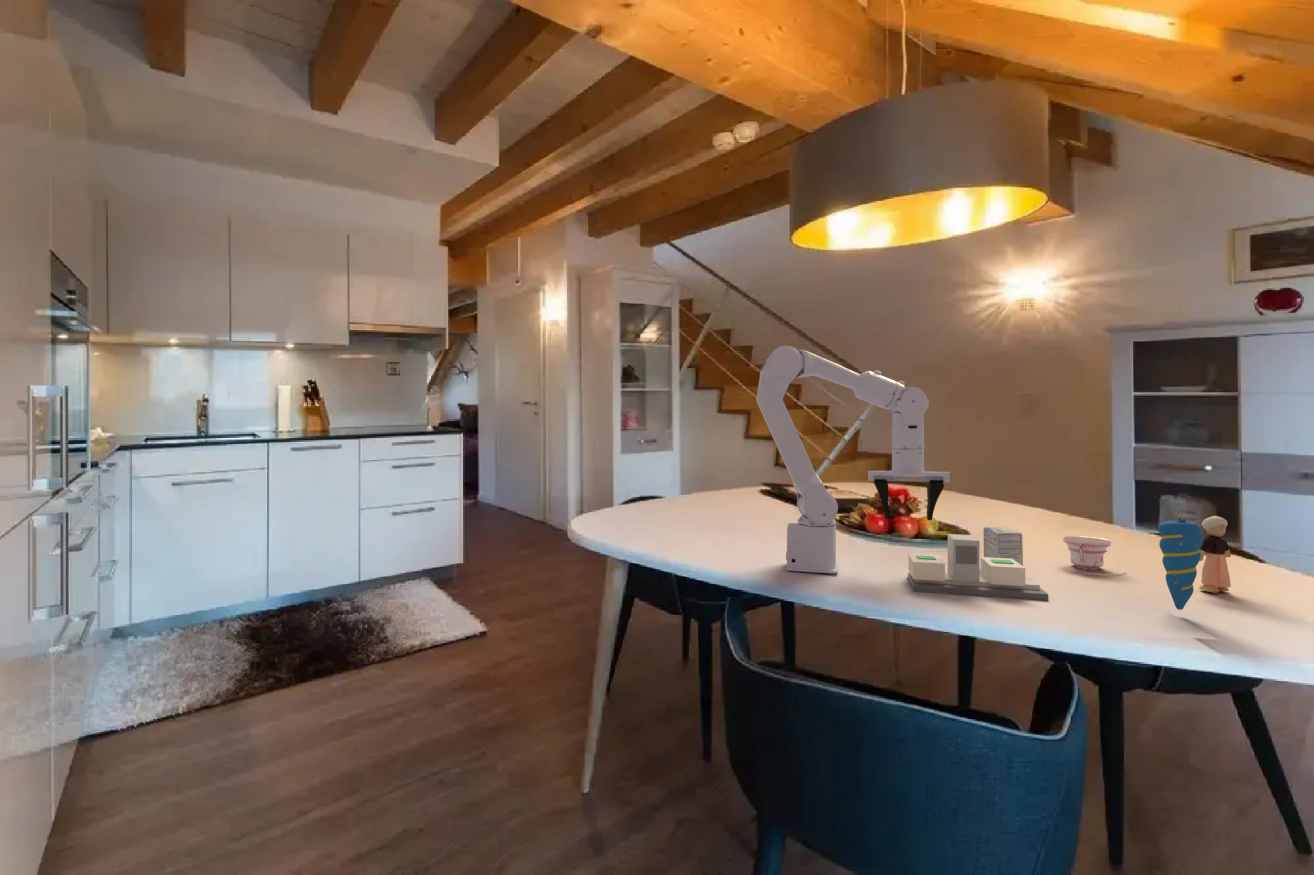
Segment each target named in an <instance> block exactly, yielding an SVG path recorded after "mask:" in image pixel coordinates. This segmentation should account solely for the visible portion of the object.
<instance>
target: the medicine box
mask: <svg viewBox="0 0 1314 875" xmlns="http://www.w3.org/2000/svg"><path fill="white" fill-rule="evenodd" d="M1023 549H1024V548H1023V533H1021V532H1019V531H1017V530H1015V529H1012V528H1009V527H1006V526H1005V527H1004V526H1003V527H1001V526H986V527H983V557H991V558H1010V559H1013V560H1015V561H1016V562H1018V563H1019V564H1020V565H1022V566H1023V567H1024V552H1023V551H1024V550H1023Z"/></svg>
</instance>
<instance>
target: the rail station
mask: <svg viewBox="0 0 1314 875" xmlns="http://www.w3.org/2000/svg"><path fill="white" fill-rule="evenodd" d="M907 555H908V556H907V557H908V566H907V568H908V571H909V572H907V578H908V580H909V584H910V586H911V588H912V590H913V592H921V593H923V592H924V593H937V594H953V595H964V596H965V595H968V596H977V597H978V596H979V597H980V596H981V597H995V598H1008V599H1009V598H1010V599H1025V600H1037V601H1049V592H1046V591H1045V590H1044V589H1042V588H1041V585H1040V583H1038V582H1036V581H1035V580H1034V579H1033V578H1031V577H1030V578H1029V577H1026V567H1024V565H1023V566H1022V565H1020V564H1019V563H1018V562H1016V561H1015V560H1013V559H1010V558H991V557H984V556H981V557H980V574H981V575H980V582H969V581H953V579H952V578H951V577H950V575H949V574H948V572H947V573H946V563H945V562H944V561H943V559H942V558H941V557H940V555H939V554H932V553H931V554H927V553H925V554H924V553H911V552H909V553H908V554H907Z"/></svg>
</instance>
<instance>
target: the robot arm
mask: <svg viewBox="0 0 1314 875" xmlns="http://www.w3.org/2000/svg"><path fill="white" fill-rule="evenodd" d="M882 374H883V373H882V371H880V370H877V369H876V370H873V371H870V370H867V371H865V372H862V373H858V372H855V371H854V370H851V369H849V368H846V367H844V366H842V365H840V364H838V363H836V362H833V361H831V360H830V359H829V360H828V359H826V358H824V357H822V356H820V355H817V354H814V353H813V352H809V351H807V350H805V349H797V348H796V347H794V346H791V345H781V346H778V347H776V348H775V349H774V350H773V351H772V352H771V354H770V355H769V356H768V357H767V359H766V360H765V362H764V364H763V365H762V367H761V369H760V372H759V379H758V380H759V381H758V386H757V392H756V396H755V397H756V399H755V400H756V403H757V404H756V405H757V406H758V408H759V410H760V413H761V414H762V417H763V419H764V421H765V423H766V426H767V428H768V430H769V432H770V434H771V436H772V439H773V442H774V443H775V446H776V448H777V450H778V453H779V454H780V456H781V458H782V461H783V463H784V466H785V468H786V470H787V472H788V474H789V477H790V479H791V481H792V485H793V489H794V491H795V494H796V506H797V509H798V512H799V513H800V514H801V515H800V517H799V518H798V519H797V522H796V523H795V522H792V523H788V524H787V527H786V528H787V529H786V551H785V557H786V558H785V560H786V571H787V572H788V571H789V572H803V573H820V574H838V573H839V563H837V558H836V557H837V545H836V544H837V542H836V540H837V525H836V522H837V521H835V518H836V517H837V515H838V511H839V504H838V502H837V500H836V498H835V497H834V496H833V495H832V494H831V493H829V492H828V490H827V489H826V488H825V486H824V483H823V481H822V480H821V478H820V477H819V475H818V474H817V472H816V471H815V469H814V466H813V464H812V462H811V461H812V460H810V457H809V454H808V453H807V451H806V448H805V446H804V444H803V442H802V439H801V436H800V435H799V433H798V430H797V428H796V426H795V424H794V421H793V420H792V417H791V416H790V414H789V413H790V412H789V411H788V409H787V406H786V405H785V402H784V397H785V394H786V393H787V390H788V388H789V385H790V384H791V382H792V381H793V380H794V379H795V378H797V379H800V378H801V379H802V378H807V377H817V378H820V379H822V380H825V381H828V382H831V383H834V384H836V385H839V386H843V387H846V388H848V389H851V390H852V392H853V393H854V394H853V395H854V396H855V398H856V399H858V400H861V401H864V402H866V403H867V404H870V405H873V406H876V407H879V408H881V409H883V410H888V412H889V413H890V414H891V416H892V422H891V423H892V424H891V448H892V449H891V470H867V476H868V477H867V480H868V482H873V484H874V487H875V488H876V491H877V493H878V496H879V498H880V501H881V505H882V508H883V514H884V516H883V517H884V520H885V519H887V520H889V519H890V509H889V482H915V483H916V482H917V483H919V482H921V483H922V482H923V483H924V482H925V483H926V497H927V500H926V501H927V504H926V520H928V521H933V516H934V513H935V512H934V511H935V508H936V505H937V502H938V499H939V497H940V495H941V494H942V492H943V490H944V488H945V483H951V480H950V478H951V477H950V472H949V471H931V470H930V471H928V470H927V471H926V470H925V465H924V464H925V457H924V456H925V454H924V453H925V450H924V449H925V439H924V437H925V426H924V421H925V420H924V418H925V417H924V415H925V413H926V411H927V410H928V408H929V405H930V400H928V397H927V395H926V393H924V391H923V389H921V388H919V387H917V386H907V387H905V381H904V380H898V381H896V380H894V379H890V378H888V377H886V376H883V375H882ZM899 477H907V478H899ZM908 477H909V478H908ZM910 477H911V478H910ZM912 477H913V478H912ZM914 477H915V478H914Z"/></svg>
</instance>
